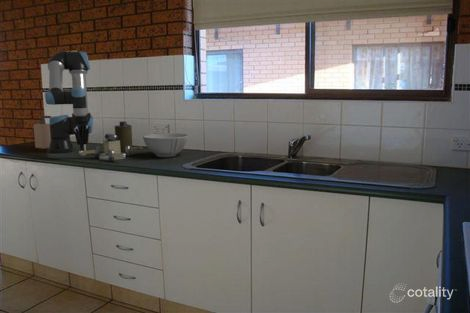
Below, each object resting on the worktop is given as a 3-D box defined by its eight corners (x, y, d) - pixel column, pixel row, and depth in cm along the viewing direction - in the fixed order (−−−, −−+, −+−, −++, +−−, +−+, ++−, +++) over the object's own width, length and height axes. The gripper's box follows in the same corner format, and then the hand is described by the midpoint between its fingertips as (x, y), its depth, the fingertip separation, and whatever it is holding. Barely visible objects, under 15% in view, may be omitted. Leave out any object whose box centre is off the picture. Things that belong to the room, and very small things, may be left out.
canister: (128, 155, 258) (127, 122, 254) (112, 154, 260) (111, 122, 256) (136, 152, 268) (134, 120, 265) (121, 152, 270) (119, 120, 267)
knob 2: (126, 156, 252) (126, 146, 251) (124, 155, 255) (123, 145, 254) (144, 153, 260) (143, 144, 259) (141, 153, 263) (140, 143, 262)
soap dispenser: (35, 147, 294) (32, 115, 290) (46, 146, 301) (43, 115, 298) (47, 148, 288) (44, 116, 284) (58, 147, 295) (55, 115, 291)
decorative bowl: (187, 158, 243) (187, 137, 241) (140, 159, 242) (139, 138, 240) (190, 151, 269) (189, 132, 267) (147, 152, 268) (146, 133, 266)
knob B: (100, 156, 253) (99, 146, 252) (100, 157, 250) (100, 147, 249) (79, 158, 248) (78, 147, 247) (79, 158, 245) (78, 148, 244)
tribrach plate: (94, 158, 248) (92, 134, 246) (118, 155, 258) (116, 132, 256) (106, 161, 237) (105, 136, 235) (130, 158, 247) (129, 134, 245)
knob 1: (107, 160, 237) (106, 150, 236) (111, 160, 240) (111, 149, 239) (123, 162, 232) (122, 151, 231) (127, 161, 235) (126, 150, 234)
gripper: (81, 114, 252) (85, 153, 256) (67, 116, 240) (71, 157, 244) (92, 114, 250) (95, 153, 254) (79, 116, 238) (82, 157, 242)
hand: (83, 155), depth 249 cm, fingers closed
